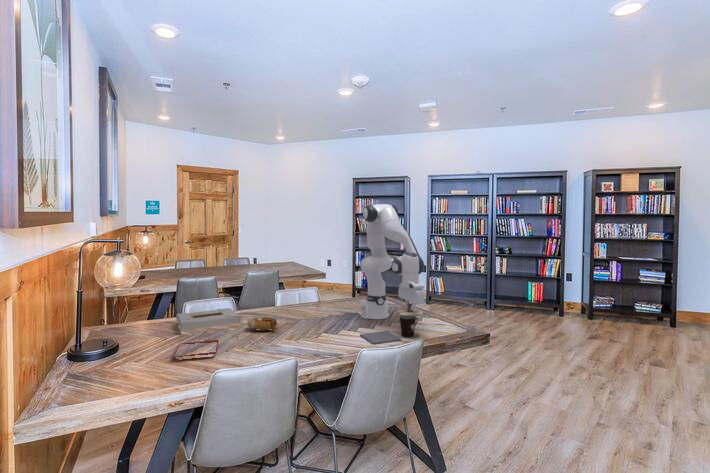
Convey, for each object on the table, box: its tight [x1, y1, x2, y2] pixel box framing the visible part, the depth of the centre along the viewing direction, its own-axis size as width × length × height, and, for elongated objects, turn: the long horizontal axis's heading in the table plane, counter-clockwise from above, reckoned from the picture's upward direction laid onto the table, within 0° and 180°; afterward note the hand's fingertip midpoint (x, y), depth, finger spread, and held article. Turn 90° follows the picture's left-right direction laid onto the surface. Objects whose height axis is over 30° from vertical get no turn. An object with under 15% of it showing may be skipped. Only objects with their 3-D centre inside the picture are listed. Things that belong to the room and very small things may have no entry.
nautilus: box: [246, 314, 280, 333], centre depth 216 cm, size 8×22×15 cm
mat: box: [359, 330, 402, 345], centre depth 203 cm, size 16×16×1 cm
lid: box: [397, 302, 424, 317], centre depth 207 cm, size 13×13×5 cm
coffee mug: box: [399, 315, 419, 338], centre depth 208 cm, size 12×9×10 cm
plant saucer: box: [173, 339, 220, 358], centre depth 180 cm, size 18×18×3 cm
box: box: [175, 307, 242, 330], centre depth 226 cm, size 23×8×32 cm
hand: (410, 309), depth 207 cm, fingers closed on lid, 3 cm apart
